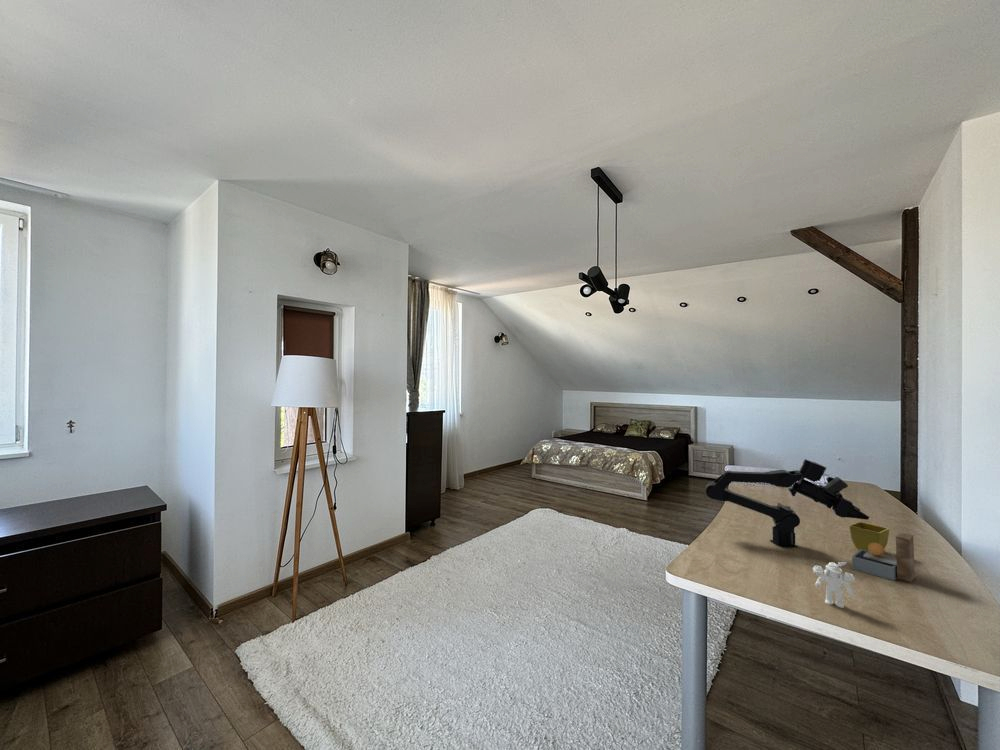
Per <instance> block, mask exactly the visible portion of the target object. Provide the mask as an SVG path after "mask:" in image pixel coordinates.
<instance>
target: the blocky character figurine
mask: <svg viewBox="0 0 1000 750" xmlns="http://www.w3.org/2000/svg"><path fill="white" fill-rule="evenodd" d="M847 563H848V562H847V561H844V562H843V561H841V562H840V561H838V562H837V563H835V562H833V561H831V562H829V563H828V564H826V565H825V569H823V567H822V566H820V565H813V567H812V570H813V571H812V573H813V574H815V575H816V576H817V577H818V578H817V580H816V582H815V583H814V585H815V588H819V587H821V586H822V582H823V581H825V582H826V586H825V589H826V590H825V600H824V603H825V604H827V605H830V606H831V605H834V601H833V594H834V593H835V605H836V607H838V608H842V609H843V608H845V604H844V601H843V592H842V588H841V587H842V586H843V585H844V586H845V588H846V590H845V594H847V593H848V595H849V596H848V597H849V598H853V596H854V592H853V590H852V587H851V585H850V584H852V583H854V584H856V581H855V580H856V578H855V577H854V574H852V573H849V572H844V574H842V572H843V570H842V569H841V568H840V567H843V566H845V565H847Z"/></svg>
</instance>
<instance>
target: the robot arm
mask: <svg viewBox="0 0 1000 750" xmlns="http://www.w3.org/2000/svg"><path fill="white" fill-rule="evenodd" d="M826 470H827V467H826V466H824V465H822V464H820V463H818V462H815V461H812V460H809V459H806V458H805V459H804V460H803V462H802V465H801V467H800V468H799V470H798V469H797V470H789V471H788V470H785V469H774V470H769V471H761V472H759V471H733V470H725V471H724V472H723V473H722V474H721V475H720V476H718V477H717V478H716V479H715V480H714V481H709V482H708V483H707V484H706V485H705V494H706V496H707V497H708V498H709V499H712V500H715V501H721V502H729V503H732V504H735V505H738V506H740V507H743V508H746V509H749V510H751V511H753V512H756V513H760V514H762V515H765V516H768V517H770V518H772V521H773V523H774V526H771V527H772V539H770V540H769V542H770V541H771V543H772V542H773V544H774V545H776V546H778V547H779V548H782V547H783V548H784V547H785V548H798V547H799V546H798V545H796V533H795V528H797V527H798V526H800V523H801V519H800V517H799V514H797V513H796V511H795V510H794V509H793V508H791V506H790V505H789V506H788V505H787V506H786V505H784V504H782V503H780V502H777V505H772V504H769V503H765V502H763V501H759V500H756V499H755V498H751V497H748V496H747V495H743V494H741V493H737V492H734V491H731V490H730V489H729V488H727V487H728V486H729V485H730V484H731V483H734V482H735V483H752V484H754V483H755V484H766V485H771V486H776V487H782V488H787V489H788V491H789V492H790V494H791V496H792V497H795V496H796V495H797V494H800V495H802V496H804V497H806V498H809V499H810V500H812V501H813V502H815V503H819V504H821V505H823V506H825V507H827V509H829V510H830V509H831V510H832V512H833V514H834V515H836V516H838V517H840V518H842V519H843V518H848V519H849V518H850V519H851V518H852V519H859V520H867V521H868V520H869V519H870V516H868V515H867V514H865V513H864V512H862V511H861V509H860V508H859V507H857V506H855V505H854V504H853V502H852V500H849V499H848V498H845V497H843V494H842V493H841V492H842V490H844V489H847V488H848V486H849V485H848V484H847V483H846V481H844V480H842V479H841V478H840V477H839V476H835V477H833V476H828V477H826V482H827V483H826V484H825V485H821V484H815V483H816V482H820V480H821V479H822V477H823V475H824V474H825V472H826Z"/></svg>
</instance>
